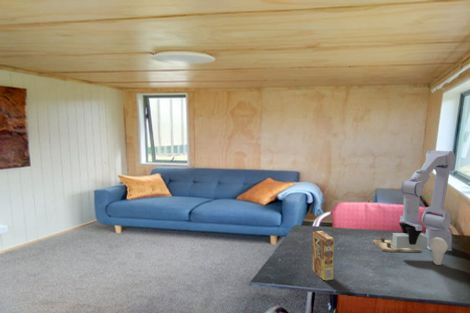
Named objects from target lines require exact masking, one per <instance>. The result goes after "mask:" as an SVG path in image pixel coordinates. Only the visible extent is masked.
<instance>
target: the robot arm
mask: <svg viewBox="0 0 470 313" xmlns="http://www.w3.org/2000/svg"><path fill="white" fill-rule="evenodd" d="M455 155H456V154H455V152H454V151H453V150H432V149H429V150H427V152H426V154H425V161H424V163H423V165H422V167H421V168H419V169H416V170H415V171H414V173H413V174H412V175H411V176H410V178H409V179H408V180H405V181H403V182H402V184H401V187H400V191H401V194H402V196H401V198H402V199H403V206H402V208H403V209H402V215H400V219H399V226H400V228H401V231H402V232H401V233H408V236H409V243H410V244H411V245H415V244H416V242H417V239H418V236H419V235H420V234H422V233H423V226H424V228H425V235H426V236H427V237H428V239H427V250H428V251H432V250H431V249H430V246H429V242H430V240H431V239H433V238H436V237H438V238H442V239H444V240H445V241H446V243H447V245H448V248H447V250H446V252H452V251H453V249H452V240H453V239H452V238H453V235H452V232H451V230H450V229H449V228H450V226H451V213H450V212H449V210H447V209H446V208H445V204H446V197H447V191H448V190H447V189H448V183H449V177H450V172H452V171H454V169H455V162H456V156H455ZM433 170H435V178H434V184H433V190H432V196H431V203H430V206H428V207H426V208H424V210H423V214H422V216H421V222H420V201H421V196H422V195H423V193H424V189H425V185H426V183H427V182H428V181H429V180H430V177H431V176H430V173H431V172H432V171H433ZM421 223H422V224H421Z"/></svg>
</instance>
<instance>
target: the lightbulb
mask: <svg viewBox="0 0 470 313" xmlns="http://www.w3.org/2000/svg"><path fill="white" fill-rule="evenodd" d="M429 246H430V249H431V250H430V251H431V252H432V258H433V263H434V264H435V265H436V266H440V265H441V264H442V261H443V257H444V254H445V253H446V252H447V251H446V250H447V248H448V245H447V243H446V241H445V240H444V239H442V238H438V237H436V238H433V239H431V240H430V242H429Z"/></svg>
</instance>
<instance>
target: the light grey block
mask: <svg viewBox="0 0 470 313" xmlns="http://www.w3.org/2000/svg"><path fill="white" fill-rule="evenodd" d="M427 239H428V237H427V236H426V234H424V233H420V235H419V236H418V239H417V242H416V244H415V245H411V244H410V243H409V236H408V233H403V232H392V240H393V242H392V245H394V246H395V247H396V248H416V249H420V250H421V249H422V250H423V249H424V250H425V249H426V250H428V248H427Z"/></svg>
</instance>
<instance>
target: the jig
mask: <svg viewBox="0 0 470 313" xmlns="http://www.w3.org/2000/svg"><path fill="white" fill-rule="evenodd" d="M392 242H393V239H385V238H384V237H380V239H372V243H374V244H375V245H376V247H378V249H380V251H382V252H396V253H397V252H398V253H399V252H400V253H402V252H403V253H421V249H416V248H396V247H395V246H394V245H392Z"/></svg>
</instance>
